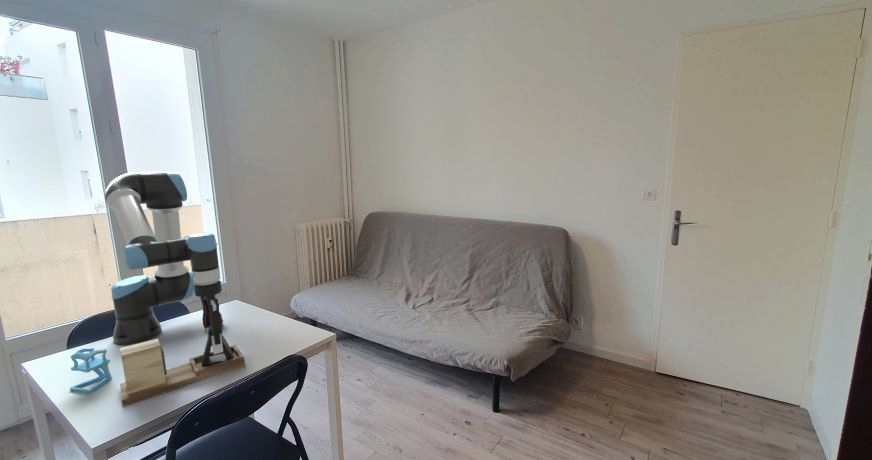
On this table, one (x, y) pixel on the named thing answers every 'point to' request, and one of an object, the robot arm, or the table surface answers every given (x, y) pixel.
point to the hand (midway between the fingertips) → (215, 348)
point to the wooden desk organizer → (185, 376)
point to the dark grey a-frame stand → (216, 358)
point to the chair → (91, 368)
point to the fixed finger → (143, 365)
